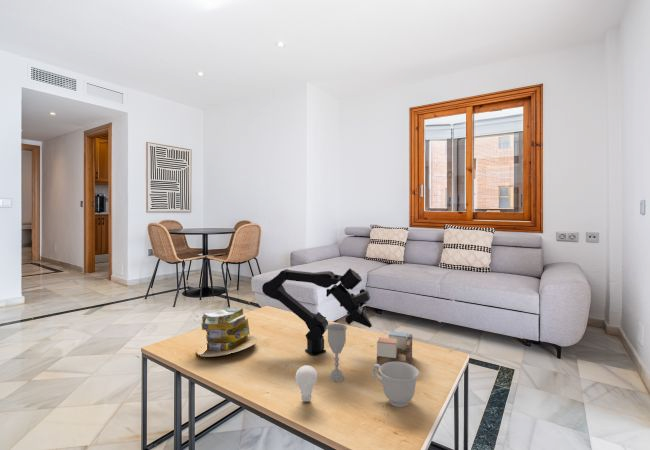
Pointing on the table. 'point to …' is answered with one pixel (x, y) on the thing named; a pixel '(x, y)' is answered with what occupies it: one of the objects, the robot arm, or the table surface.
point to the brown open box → (399, 354)
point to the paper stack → (226, 332)
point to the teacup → (397, 381)
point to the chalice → (336, 346)
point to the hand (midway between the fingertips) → (371, 326)
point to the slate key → (399, 339)
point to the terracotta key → (387, 347)
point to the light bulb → (306, 381)
